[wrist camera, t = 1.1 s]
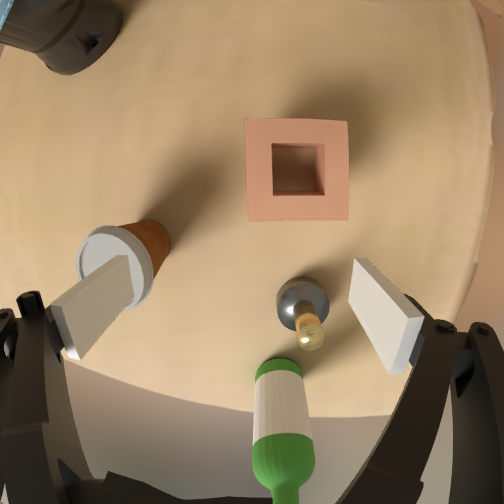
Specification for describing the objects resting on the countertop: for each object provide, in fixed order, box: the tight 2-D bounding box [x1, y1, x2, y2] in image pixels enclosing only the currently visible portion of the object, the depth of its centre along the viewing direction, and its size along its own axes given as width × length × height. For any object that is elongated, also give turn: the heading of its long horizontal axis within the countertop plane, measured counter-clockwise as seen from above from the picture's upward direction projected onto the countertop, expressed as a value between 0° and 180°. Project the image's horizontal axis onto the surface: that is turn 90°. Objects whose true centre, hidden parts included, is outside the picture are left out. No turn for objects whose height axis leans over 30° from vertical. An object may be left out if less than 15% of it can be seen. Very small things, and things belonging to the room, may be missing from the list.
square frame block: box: [244, 118, 349, 222], centre depth 25 cm, size 9×9×5 cm
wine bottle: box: [252, 358, 315, 504], centre depth 28 cm, size 8×8×30 cm
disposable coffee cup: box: [76, 221, 170, 311], centre depth 30 cm, size 10×10×12 cm
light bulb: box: [277, 277, 329, 351], centre depth 33 cm, size 7×7×10 cm
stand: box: [271, 147, 314, 191], centre depth 30 cm, size 7×7×6 cm
